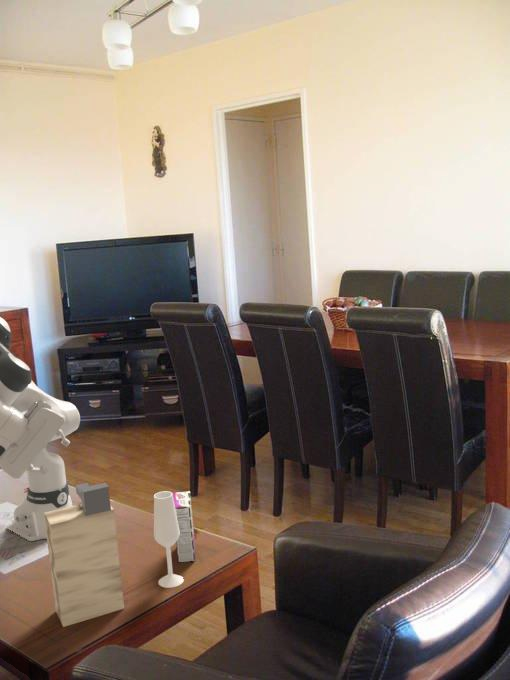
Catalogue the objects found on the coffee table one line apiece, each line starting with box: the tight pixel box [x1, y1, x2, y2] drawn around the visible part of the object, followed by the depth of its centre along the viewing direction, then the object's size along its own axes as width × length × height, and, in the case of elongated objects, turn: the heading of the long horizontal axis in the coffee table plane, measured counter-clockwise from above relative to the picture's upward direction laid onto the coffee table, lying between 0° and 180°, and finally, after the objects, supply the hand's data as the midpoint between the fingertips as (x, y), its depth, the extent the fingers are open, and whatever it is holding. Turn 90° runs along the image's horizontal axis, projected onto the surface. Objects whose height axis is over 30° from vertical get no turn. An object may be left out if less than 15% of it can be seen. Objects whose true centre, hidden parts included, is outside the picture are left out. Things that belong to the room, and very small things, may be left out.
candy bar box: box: [173, 490, 196, 563], centre depth 207 cm, size 11×5×16 cm, turn 5°
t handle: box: [75, 482, 112, 516], centre depth 182 cm, size 16×6×6 cm, turn 27°
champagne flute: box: [153, 490, 185, 589], centre depth 192 cm, size 7×7×24 cm
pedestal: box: [44, 501, 125, 628], centre depth 180 cm, size 8×15×27 cm, turn 117°
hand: (57, 458), depth 194 cm, fingers open, 8 cm apart
